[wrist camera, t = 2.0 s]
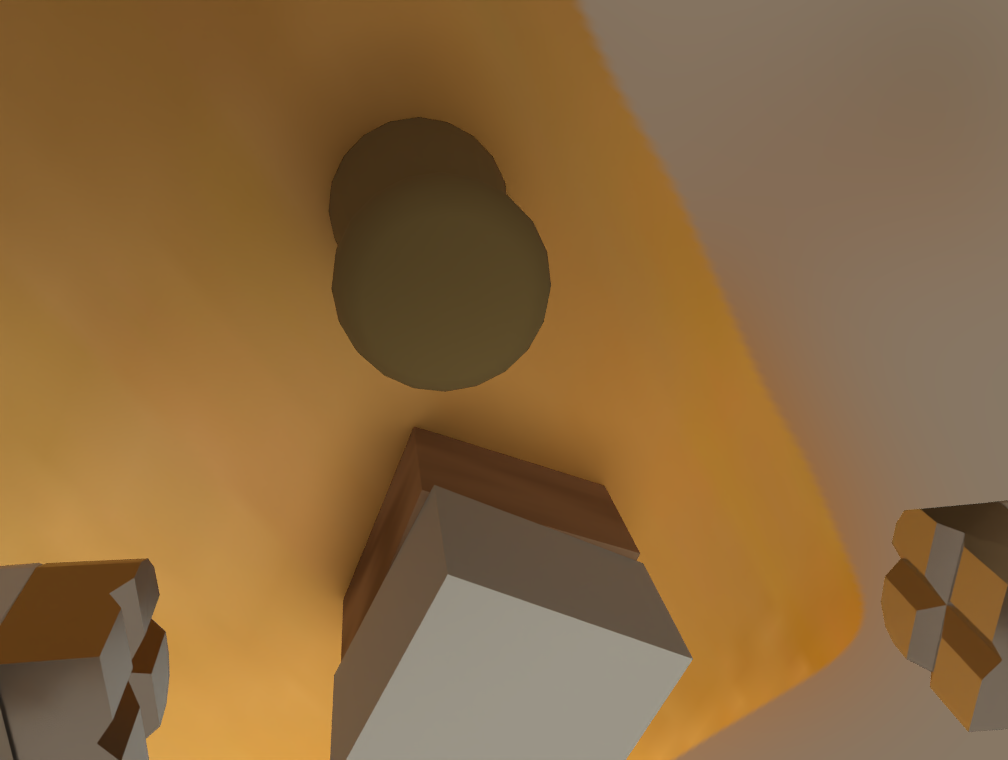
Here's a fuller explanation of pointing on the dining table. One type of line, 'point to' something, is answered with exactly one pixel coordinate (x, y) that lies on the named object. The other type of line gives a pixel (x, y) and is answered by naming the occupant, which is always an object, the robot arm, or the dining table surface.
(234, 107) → the dining table surface
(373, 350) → the cork
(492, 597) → the grey block
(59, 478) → the dining table surface
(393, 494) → the walnut block
